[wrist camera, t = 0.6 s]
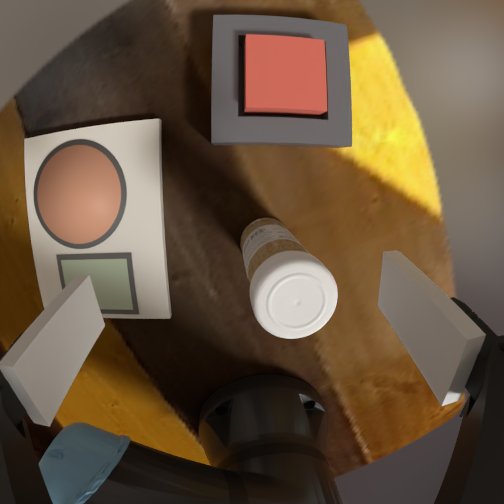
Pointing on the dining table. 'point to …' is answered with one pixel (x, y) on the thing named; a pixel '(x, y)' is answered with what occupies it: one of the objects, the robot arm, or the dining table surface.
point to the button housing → (276, 125)
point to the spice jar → (286, 281)
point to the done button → (284, 75)
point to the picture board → (100, 215)
